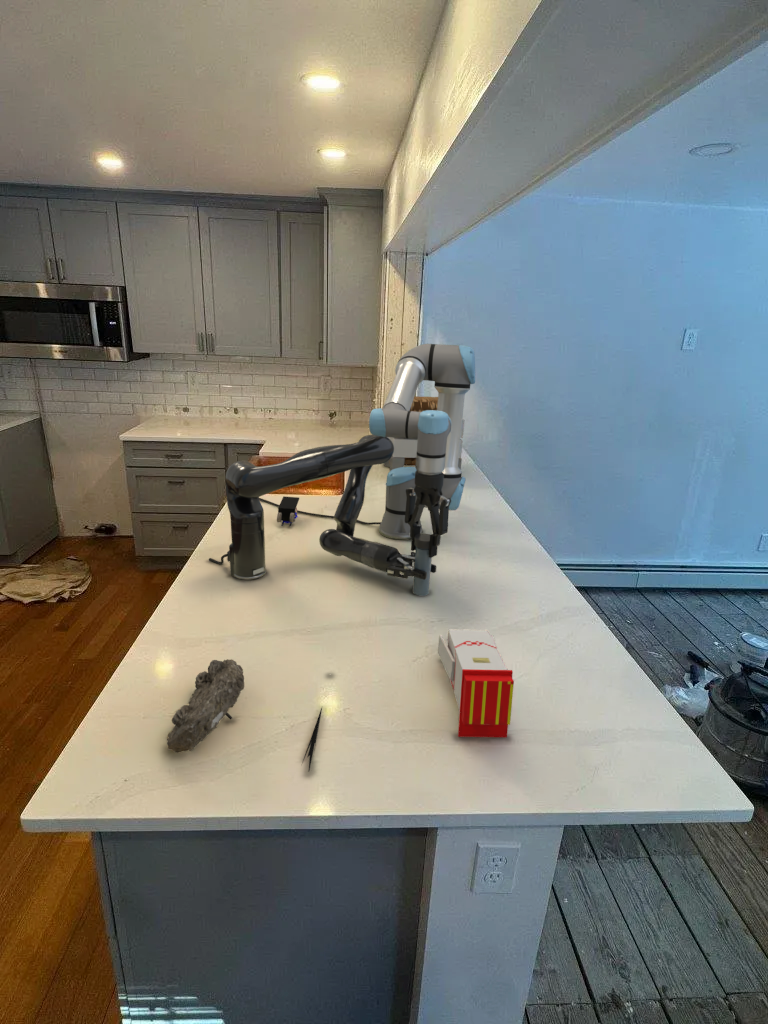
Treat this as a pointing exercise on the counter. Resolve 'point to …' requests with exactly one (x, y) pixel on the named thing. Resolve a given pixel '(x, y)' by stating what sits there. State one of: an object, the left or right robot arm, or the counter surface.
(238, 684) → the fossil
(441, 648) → the toy
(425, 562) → the grey cylinder
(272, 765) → the counter surface
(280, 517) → the figurine character
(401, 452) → the grey slatted wooden crate
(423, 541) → the lid
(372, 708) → the counter surface
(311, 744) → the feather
